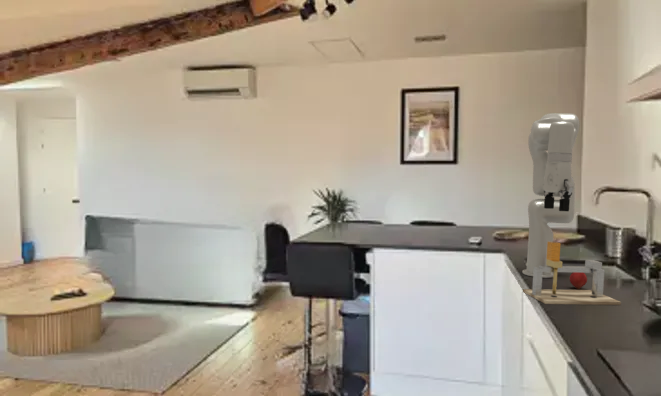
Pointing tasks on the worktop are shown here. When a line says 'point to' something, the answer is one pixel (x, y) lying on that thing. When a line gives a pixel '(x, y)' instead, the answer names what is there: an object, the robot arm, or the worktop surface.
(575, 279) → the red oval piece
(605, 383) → the worktop surface
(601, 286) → the grey arch frame
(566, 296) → the bolt plate
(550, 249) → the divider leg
